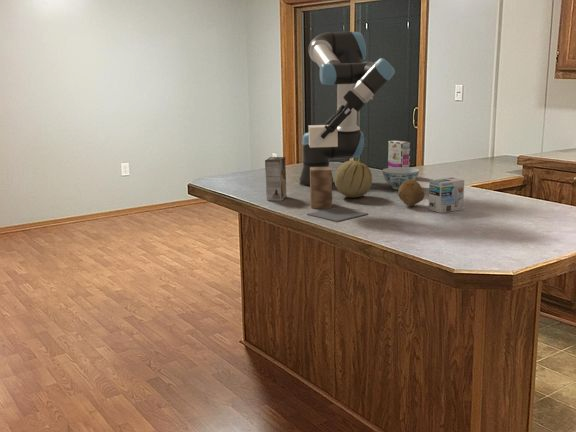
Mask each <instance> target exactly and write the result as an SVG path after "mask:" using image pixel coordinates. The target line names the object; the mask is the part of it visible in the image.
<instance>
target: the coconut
mask: <svg viewBox="0 0 576 432" xmlns="http://www.w3.org/2000/svg"><path fill="white" fill-rule="evenodd" d="M397 195H398V197H399V200H401V201H402V202H403V203H404V204H405V205H406V206H408V207H413V206H414V207H415V205H417V204H418V203H421V202H422V201H423V200H424V199H425V193H424V190H423V187H422V186H421V184H420V182H417V181H416V180H413V179H408V180H405V181H404V182H403V183H402V184H401V185H400V187H399V190H398V191H397Z"/></svg>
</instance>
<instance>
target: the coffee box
mask: <svg viewBox="0 0 576 432" xmlns="http://www.w3.org/2000/svg"><path fill="white" fill-rule="evenodd" d="M264 164H265V165H264V167H265V168H264V169H265V190H266V191H265V192H266V193H265V194H266V201H279V202H282V201H283V200H284V199H285V198H286V197H287V177H286V176H287V173H286V172H287V171H286V170H287V167H286V157H285V156H270V157H269V158H266V159H265V160H264Z"/></svg>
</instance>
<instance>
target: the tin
mask: <svg viewBox="0 0 576 432" xmlns="http://www.w3.org/2000/svg"><path fill="white" fill-rule="evenodd" d="M332 171H333V170H332V167H331V166H329V167H310V186H309V187H310V188H309V190H310V191H309V192H310V195H309V196H310V201H309V202H310V208H311V209H323V208H324V209H331V208H333V185H332V184H333V183H332V176H333V174H332V173H333V172H332Z"/></svg>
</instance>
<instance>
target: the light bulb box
mask: <svg viewBox="0 0 576 432" xmlns="http://www.w3.org/2000/svg"><path fill="white" fill-rule="evenodd" d="M428 189H429V191H428V192H429V193H428V210H429V211H431V212H432V211H433V212H437V213H440V214H443V213H449V212H455V211H456V212H457V211H462V210H463V209H464V197H465V190H464V189H465V180H464V179H462V178H461V179H460V178H457V177H445V178H437V179H430V180H429V187H428Z"/></svg>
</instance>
